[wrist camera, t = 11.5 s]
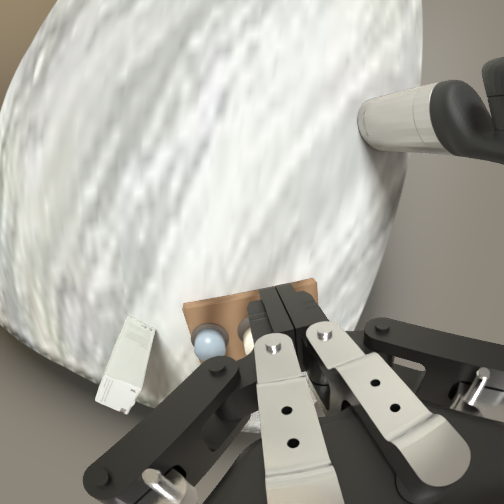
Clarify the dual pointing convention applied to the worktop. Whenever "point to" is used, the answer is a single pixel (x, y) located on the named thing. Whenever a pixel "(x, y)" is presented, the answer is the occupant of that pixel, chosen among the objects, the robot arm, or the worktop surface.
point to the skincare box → (126, 366)
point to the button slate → (209, 344)
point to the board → (231, 316)
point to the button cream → (248, 341)
